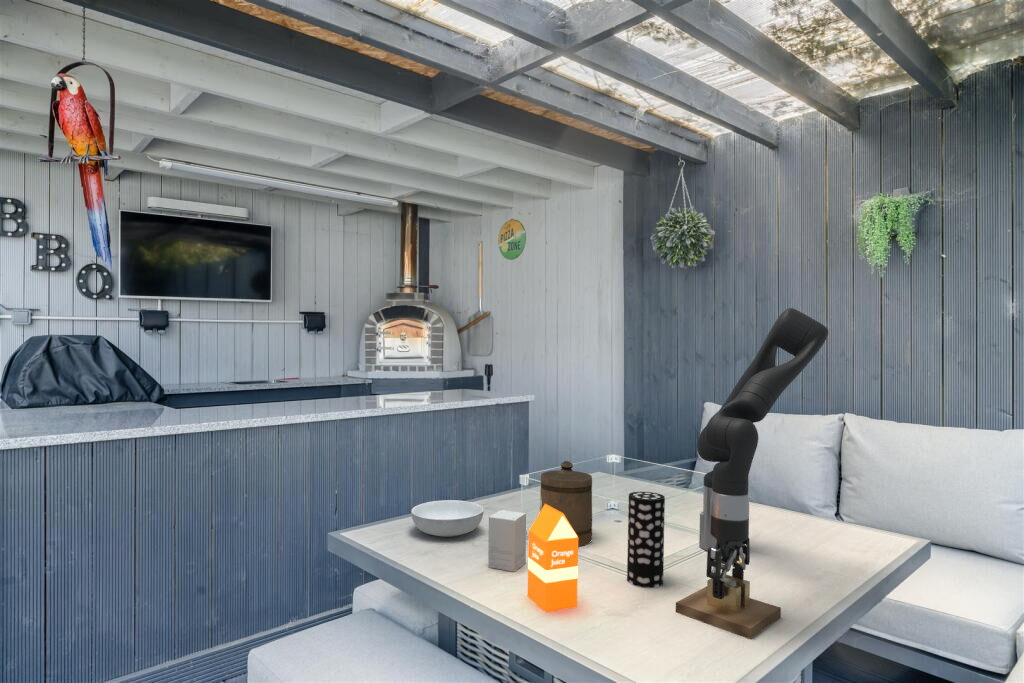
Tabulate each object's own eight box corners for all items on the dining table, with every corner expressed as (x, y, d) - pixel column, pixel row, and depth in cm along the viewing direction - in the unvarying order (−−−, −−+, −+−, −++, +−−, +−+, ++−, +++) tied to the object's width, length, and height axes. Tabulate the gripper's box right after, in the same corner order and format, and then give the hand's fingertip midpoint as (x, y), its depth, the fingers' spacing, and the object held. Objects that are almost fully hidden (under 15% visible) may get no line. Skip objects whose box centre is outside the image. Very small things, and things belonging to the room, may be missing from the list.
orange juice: (544, 612, 129) (546, 515, 129) (526, 596, 137) (528, 504, 137) (577, 606, 132) (579, 511, 132) (558, 591, 140) (560, 501, 140)
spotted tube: (642, 590, 142) (644, 501, 142) (619, 577, 149) (621, 493, 149) (670, 584, 146) (672, 498, 146) (647, 572, 153) (648, 490, 153)
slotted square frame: (706, 604, 130) (707, 580, 130) (721, 596, 134) (721, 573, 134) (735, 614, 125) (736, 589, 125) (749, 605, 130) (749, 581, 130)
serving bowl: (422, 520, 194) (422, 498, 194) (488, 524, 191) (489, 501, 191) (401, 541, 173) (401, 516, 173) (475, 546, 170) (476, 520, 170)
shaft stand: (675, 612, 130) (676, 578, 130) (708, 594, 140) (709, 562, 140) (750, 638, 119) (751, 602, 119) (780, 617, 129) (781, 583, 129)
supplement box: (526, 563, 158) (527, 512, 158) (514, 572, 151) (515, 520, 151) (500, 558, 161) (501, 509, 161) (486, 567, 154) (487, 516, 154)
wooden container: (561, 528, 188) (563, 455, 188) (602, 539, 178) (603, 462, 178) (528, 538, 178) (529, 461, 178) (569, 551, 167) (570, 469, 167)
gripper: (731, 524, 122) (729, 607, 122) (762, 511, 132) (760, 588, 132) (695, 516, 127) (694, 596, 127) (728, 504, 137) (727, 578, 137)
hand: (728, 592), depth 130 cm, fingers open, 8 cm apart
